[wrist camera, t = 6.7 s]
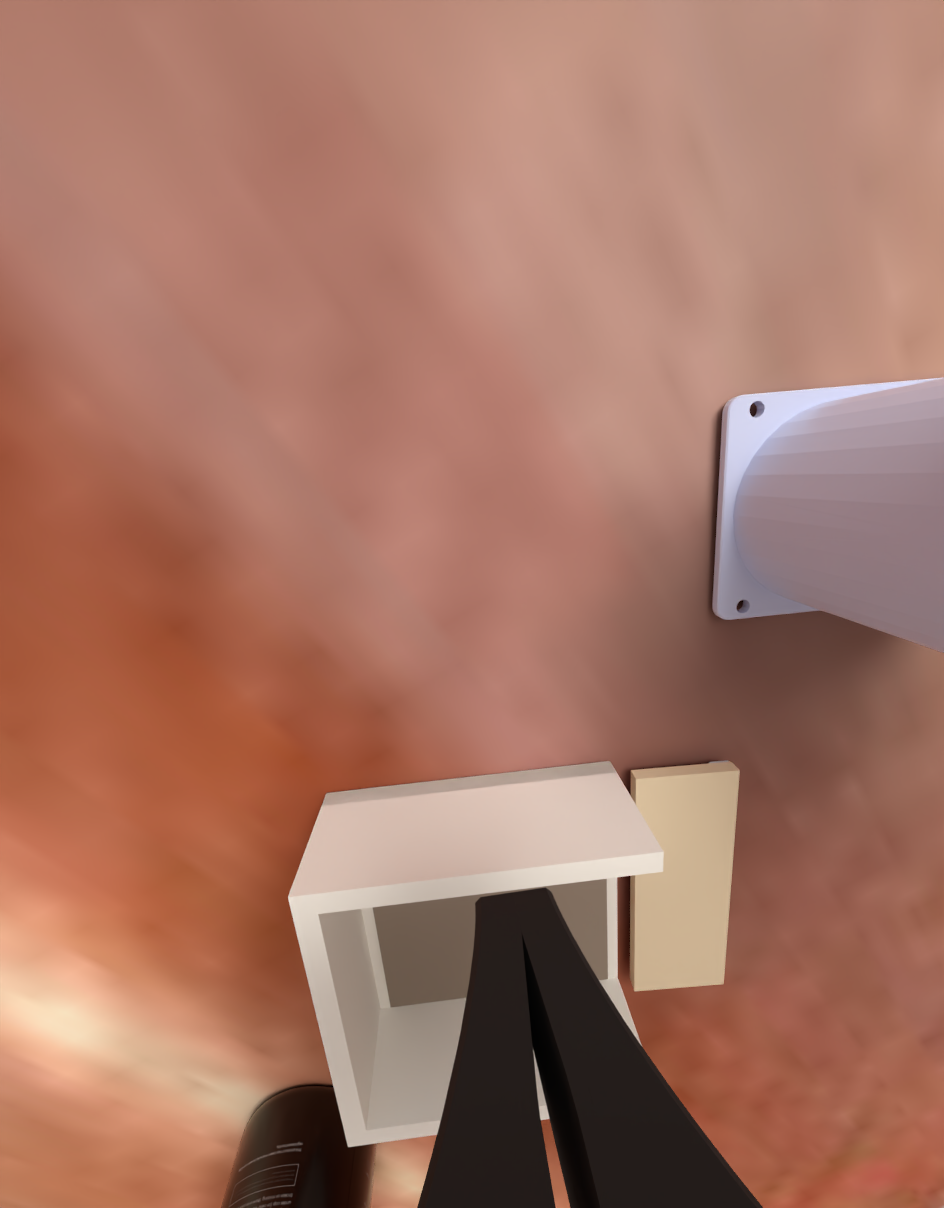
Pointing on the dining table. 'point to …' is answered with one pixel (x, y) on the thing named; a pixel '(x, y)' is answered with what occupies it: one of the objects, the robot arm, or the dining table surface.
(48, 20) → the dining table surface
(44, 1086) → the dining table surface
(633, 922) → the flap
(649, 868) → the carton
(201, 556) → the dining table surface
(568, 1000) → the robot arm
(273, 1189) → the supplement bottle
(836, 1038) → the dining table surface
